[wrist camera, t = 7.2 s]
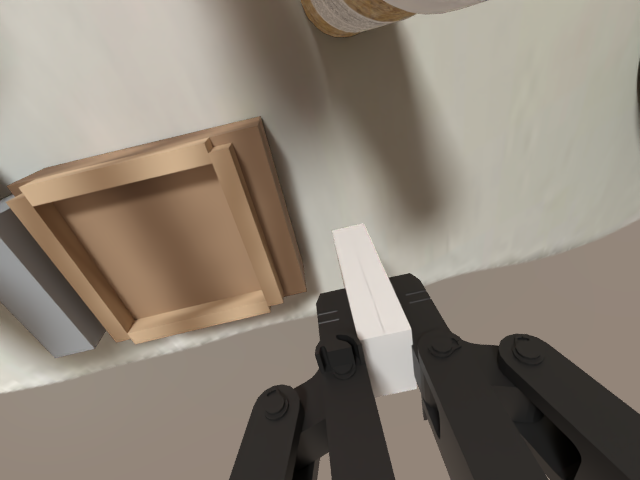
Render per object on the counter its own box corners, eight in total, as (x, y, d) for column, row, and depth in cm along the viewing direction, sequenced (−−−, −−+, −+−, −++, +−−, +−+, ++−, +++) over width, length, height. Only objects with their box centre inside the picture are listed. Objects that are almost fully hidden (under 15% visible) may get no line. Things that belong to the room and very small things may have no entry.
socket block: (260, 116, 18) (255, 130, 15) (303, 266, 24) (308, 303, 20) (44, 168, 19) (-13, 194, 15) (137, 305, 24) (112, 349, 21)
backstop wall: (52, 184, 19) (-14, 221, 15) (128, 295, 24) (94, 348, 19) (12, 194, 19) (-66, 233, 15) (95, 303, 24) (55, 357, 19)
